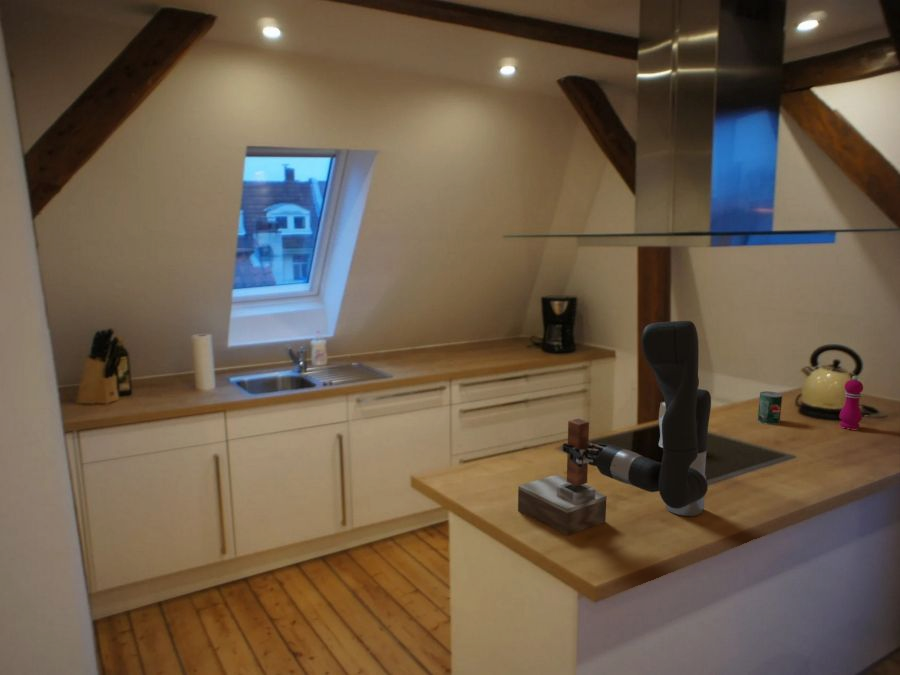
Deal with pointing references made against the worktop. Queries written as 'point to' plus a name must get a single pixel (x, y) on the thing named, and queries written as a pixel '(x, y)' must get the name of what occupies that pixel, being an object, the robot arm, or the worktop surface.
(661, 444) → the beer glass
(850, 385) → the pepper mill
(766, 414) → the canned tomato
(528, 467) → the worktop surface
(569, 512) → the gray socket block
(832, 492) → the worktop surface
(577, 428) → the wooden key
